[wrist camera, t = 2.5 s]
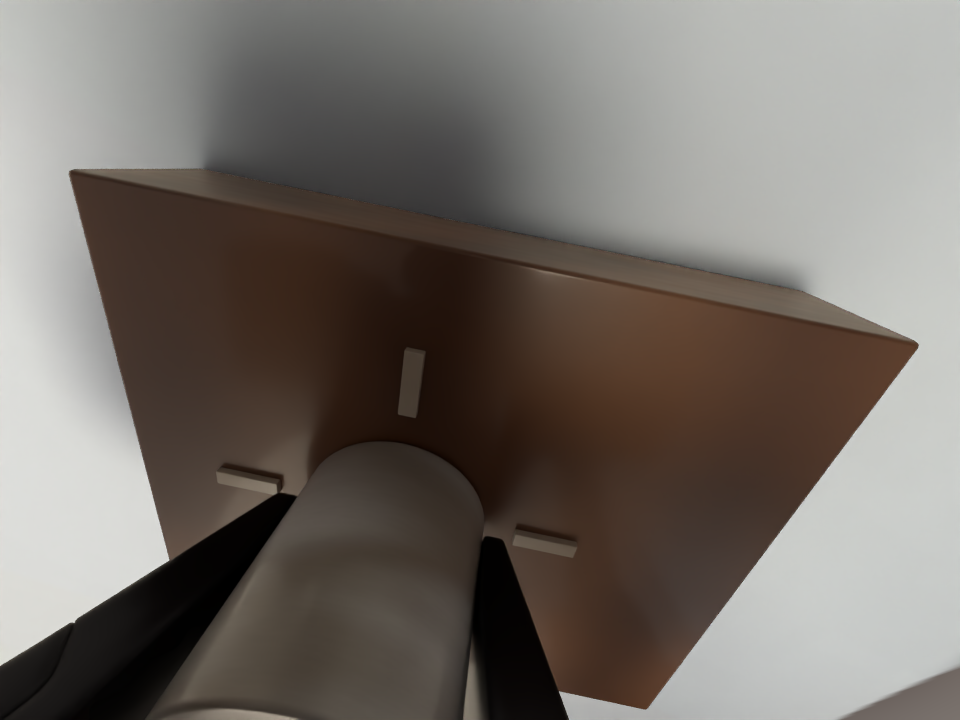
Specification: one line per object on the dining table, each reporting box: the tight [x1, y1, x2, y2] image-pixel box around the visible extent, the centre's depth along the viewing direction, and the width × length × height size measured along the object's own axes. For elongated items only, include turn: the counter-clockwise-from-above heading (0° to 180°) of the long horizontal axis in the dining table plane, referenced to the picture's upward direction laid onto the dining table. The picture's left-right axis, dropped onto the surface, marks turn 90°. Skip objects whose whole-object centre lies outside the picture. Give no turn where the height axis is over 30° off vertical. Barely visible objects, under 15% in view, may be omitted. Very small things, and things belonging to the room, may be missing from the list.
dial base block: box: [69, 169, 919, 709], centre depth 10 cm, size 14×12×3 cm
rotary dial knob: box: [145, 441, 484, 720], centre depth 7 cm, size 4×4×5 cm
